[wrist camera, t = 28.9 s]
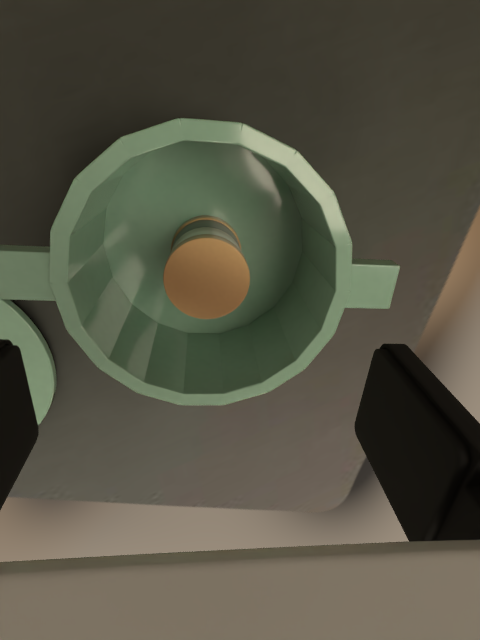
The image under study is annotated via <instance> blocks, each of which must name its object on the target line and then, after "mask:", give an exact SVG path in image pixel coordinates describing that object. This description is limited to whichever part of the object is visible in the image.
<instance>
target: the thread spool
mask: <svg viewBox="0 0 480 640" xmlns="http://www.w3.org/2000/svg"><path fill="white" fill-rule="evenodd" d="M163 283H164V288H165V291H166V294H167V296H168V298H169V299H170V301H171V302H172V303H173V305H174V306H175V307H176V308H178V309H179V310H180V311H182V312H183V313H185V314H187V315H189V316H191V317H195V318H199V319H215V318H219V317H222V316H225V315H227V314H229V313H231V312H232V311H234V310H235V309H236V308H237V307H238V306H239V305H240V304H241V303H242V302H243V300H244V298H245V297H246V295H247V292H248V289H249V285H250V272H249V268H248V265H247V262H246V259H245V257H244V255H243V254H242V252H241V244H240V241H239V238H238V236H237V234H236V232H235V230H234V229H233V228H232V227H231V226H230V225H229V224H228V223H227V222H225V221H224V220H222V219H220V218H218V217H214V216H208V215H202V216H197V217H193V218H191V219H189V220H187V221H186V222H184V223H183V224H182V225H181V226H180V227H179V228H178V230H177V231H176V233H175V235H174V237H173V240H172V244H171V253H170V255H169V257H168V259H167V261H166V264H165V268H164V273H163Z"/></svg>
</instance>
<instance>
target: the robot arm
mask: <svg viewBox="0 0 480 640" xmlns="http://www.w3.org/2000/svg"><path fill="white" fill-rule="evenodd" d="M355 433H356V436H357V438H358V440H359V442H360V444H361V446H362V448H363V450H364V452H365V454H366V456H367V458H368V460H369V462H370V464H371V466H372V468H373V470H374V472H375V474H376V476H377V478H378V480H379V482H380V484H381V486H382V488H383V490H384V492H385V494H386V496H387V498H388V500H389V502H390V504H391V506H392V508H393V510H394V512H395V514H396V516H397V518H398V520H399V522H400V524H401V526H402V528H403V530H404V532H405V534H406V536H407V538H408V540H409V542H388V543H366V544H343V545H321V546H298V547H279V548H278V547H277V548H257V549H238V550H217V551H197V552H178V553H158V554H138V555H120V556H103V557H84V558H68V559H49V560H31V561H13V562H0V640H480V424H479V423H478V421H477V420H476V419H475V418H474V417H473V416H472V415H471V414H470V413H469V412H468V411H467V410H466V409H465V407H464V406H463V405H462V404H461V403H460V402H459V401H458V400H457V399H456V398H455V397H454V396H453V395H452V394H451V392H450V391H449V390H448V389H447V388H446V387H445V386H444V385H443V384H442V383H441V382H440V381H439V380H438V379H437V378H436V376H435V375H434V374H433V373H432V372H431V371H430V370H429V369H428V368H427V367H426V366H425V365H424V364H423V362H422V361H421V360H420V359H419V358H418V357H417V356H416V355H415V354H414V353H413V352H412V351H411V349H410V348H409V347H408V346H407V345H405V344H383V345H382V346H381V347H380V349H376V350H375V351H374V354H373V358H372V361H371V365H370V369H369V372H368V376H367V380H366V384H365V387H364V391H363V395H362V398H361V402H360V406H359V410H358V413H357V417H356V421H355ZM37 437H38V423H37V419H36V415H35V410H34V406H33V402H32V397H31V393H30V389H29V385H28V380H27V376H26V372H25V367H24V363H23V359H22V354H21V350H20V348H19V347H18V346H17V345H13V343H12V342H11V341H10V340H8V339H0V510H1V508H2V506H3V504H4V502H5V500H6V498H7V496H8V494H9V492H10V490H11V489H12V487H13V485H14V483H15V481H16V479H17V477H18V475H19V473H20V471H21V469H22V467H23V466H24V464H25V462H26V460H27V458H28V456H29V454H30V452H31V450H32V448H33V446H34V444H35V443H36V440H37Z"/></svg>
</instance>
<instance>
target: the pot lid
mask: <svg viewBox="0 0 480 640" xmlns="http://www.w3.org/2000/svg"><path fill="white" fill-rule="evenodd" d="M0 339H8V340H10V341H11V342H12V343H13V345H17V346H18V347H19V348H20V350H21V354H22V359H23V363H24V367H25V372H26V376H27V380H28V385H29V389H30V393H31V397H32V402H33V406H34V410H35V415H36V419H37V423H38V425H39V424H40V423H41V422H42V420H43V419H44V417H45V416H46V414H47V413H48V411H49V409H50V407H51V404H52V402H53V399H54V395H55V391H56V380H57V379H56V369H55V364H54V360H53V357H52V354H51V351H50V349H49V347H48V344H47V342H46V341H45V339H44V337H43V336H42V334H41V332H40V331H39V329H38V328H37V327H36V326H35V324H34V323H33V322H32V320H31V319H30V318H29V317H28V316H27V315H26V314H25V313H24V312H23V311H22V310H21V309H20V308H19V307H18V306H17V305H15V304H14V303H13V302H12V301H11V300H9V299H1V297H0Z"/></svg>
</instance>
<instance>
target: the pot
mask: <svg viewBox="0 0 480 640" xmlns="http://www.w3.org/2000/svg"><path fill="white" fill-rule="evenodd" d="M202 215H208V216H214V217H218V218H220V219H222V220H224V221H225V222H227V223H228V224H229V225H230V226H231V227H232V228H233V229H234V230H235V232H236V234H237V236H238V238H239V241H240V244H241V252H242V254H243V255H244V257H245V259H246V262H247V265H248V268H249V272H250V285H249V289H248V292H247V295H246V297H245V298H244V300H243V302H242V303H241V304H240V305H239V306H238V307H237V308H236V309H235V310H234V311H232V312H231V313H229V314H227V315H225V316H222V317H219V318H215V319H199V318H195V317H191V316H189V315H187V314H185V313H183V312H182V311H180V310H179V309H178V308H176V307H175V306H174V305H173V303H172V302H171V301H170V299H169V298H168V296H167V294H166V291H165V288H164V283H163V273H164V268H165V264H166V261H167V259H168V257H169V255H170V253H171V244H172V240H173V237H174V235H175V233H176V231H177V230H178V228H179V227H180V226H181V225H182V224H183V223H184V222H186V221H187V220H189V219H191V218H193V217H197V216H202ZM351 242H352V240H351V237H350V235H349V232H348V229H347V226H346V223H345V220H344V218H343V215H342V212H341V209H340V206H339V204H338V201H337V198H336V195H335V194H334V191H333V190H332V189H331V188H330V187H329V186H328V184H327V183H326V182H325V181H324V180H323V179H322V178H321V176H320V175H319V174H318V173H317V172H316V171H315V170H314V168H313V167H312V166H311V165H310V164H309V163H308V162H307V161H306V159H305V158H304V157H303V156H302V155H301V154H300V153H299V151H297V150H296V149H294V148H292V147H290V146H288V145H286V144H284V143H282V142H280V141H278V140H276V139H275V138H273V137H271V136H269V135H267V134H265V133H263V132H261V131H259V130H257V129H255V128H253V127H251V126H249V125H247V124H245V123H241V122H231V121H218V120H205V119H192V118H176V119H173V120H170V121H167V122H164V123H161V124H158V125H155V126H152V127H149V128H146V129H143V130H140V131H137V132H134V133H131V134H128V135H125V136H122V137H120V138H119V139H117V140H116V141H115V142H114V143H113V144H112V145H110V146H109V147H108V148H107V149H106V150H105V151H104V152H103V153H101V154H100V155H99V156H98V157H97V158H96V159H95V160H94V161H92V162H91V163H90V164H89V165H88V166H87V167H86V168H85V169H83V170H82V171H81V172H80V173H79V174H78V175H77V176H76V178H74V179H73V181H72V184H71V186H70V188H69V190H68V192H67V194H66V197H65V199H64V201H63V203H62V205H61V207H60V210H59V212H58V214H57V216H56V218H55V221H54V223H53V225H52V227H51V230H50V247H45V246H20V245H0V297H1V299H10V300H50V301H56V303H57V306H58V308H59V311H60V314H61V317H62V320H63V322H64V325H65V328H66V330H67V331H68V333H69V334H70V335H71V336H72V337H73V339H74V340H75V341H76V342H77V344H78V345H79V346H80V347H81V348H82V350H83V351H84V352H85V353H86V354H87V356H88V357H89V358H90V359H91V360H92V362H93V363H94V364H95V365H96V366H97V367H98V369H100V370H102V371H103V372H105V373H106V374H108V375H109V376H111V377H113V378H114V379H116V380H117V381H119V382H121V383H122V384H124V385H125V386H127V387H128V388H130V389H132V390H133V391H135V392H137V393H139V394H142V395H146V396H149V397H153V398H156V399H160V400H163V401H167V402H171V403H174V404H178V405H225V404H230V403H233V402H237V401H240V400H244V399H247V398H251V397H254V396H258V395H261V394H265V393H267V392H270V391H272V390H273V389H275V388H276V387H278V386H279V385H281V384H283V383H284V382H286V381H287V380H289V379H290V378H292V377H294V376H295V375H297V374H298V373H300V372H301V371H303V370H304V369H305V368H306V367H307V366H308V365H309V364H310V363H311V361H312V360H313V359H314V358H315V357H316V355H317V354H318V353H319V352H320V351H321V350H322V348H323V347H324V346H325V345H326V344H327V342H328V341H329V340H330V339H331V338H332V336H333V335H334V334H335V331H336V329H337V326H338V324H339V321H340V319H341V316H342V313H343V311H344V308H380V309H389V307H390V303H391V299H392V296H393V292H394V288H395V284H396V280H397V277H398V273H399V269H400V266H399V265H398V264H396V263H395V262H393V261H392V260H374V259H352V243H351Z"/></svg>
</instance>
